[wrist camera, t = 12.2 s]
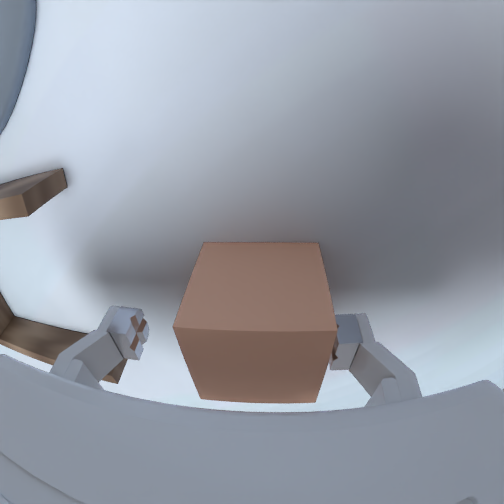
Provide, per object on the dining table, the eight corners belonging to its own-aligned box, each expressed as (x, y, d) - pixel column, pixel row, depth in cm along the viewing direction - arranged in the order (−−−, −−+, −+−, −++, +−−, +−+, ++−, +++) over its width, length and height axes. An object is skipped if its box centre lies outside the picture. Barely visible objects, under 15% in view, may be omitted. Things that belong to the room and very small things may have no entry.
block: (317, 241, 12) (337, 330, 8) (308, 320, 15) (315, 402, 11) (204, 241, 12) (172, 326, 8) (216, 319, 15) (200, 398, 11)
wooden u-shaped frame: (62, 168, 10) (21, 194, 8) (131, 349, 18) (117, 383, 15) (-44, 200, 12) (-68, 219, 9) (13, 321, 19) (-1, 343, 16)
